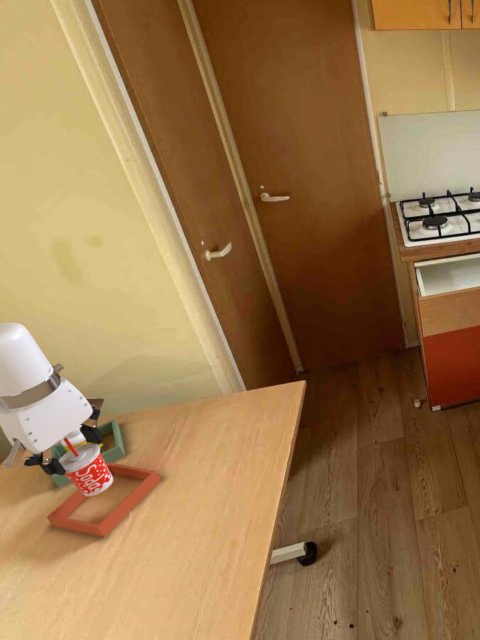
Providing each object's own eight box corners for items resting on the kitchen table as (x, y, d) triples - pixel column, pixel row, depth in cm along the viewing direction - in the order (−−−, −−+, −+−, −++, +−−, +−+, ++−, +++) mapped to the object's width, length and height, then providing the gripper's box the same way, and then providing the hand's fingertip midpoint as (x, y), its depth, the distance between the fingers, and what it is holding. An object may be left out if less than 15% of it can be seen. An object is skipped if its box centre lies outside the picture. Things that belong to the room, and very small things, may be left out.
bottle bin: (58, 456, 98) (50, 446, 97) (120, 429, 105) (114, 418, 104) (60, 489, 91) (51, 478, 90) (126, 457, 98) (119, 446, 97)
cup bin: (55, 527, 84) (46, 517, 82) (115, 472, 95) (108, 462, 93) (106, 539, 82) (97, 528, 81) (162, 481, 93) (155, 471, 91)
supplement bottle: (102, 460, 97) (82, 430, 92) (71, 469, 95) (49, 439, 90) (109, 442, 101) (90, 413, 97) (80, 450, 99) (59, 421, 95)
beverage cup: (74, 505, 82) (37, 458, 76) (83, 480, 87) (48, 433, 80) (114, 490, 85) (81, 443, 78) (121, 467, 89) (90, 420, 83)
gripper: (65, 353, 81) (107, 419, 90) (-55, 425, 66) (8, 496, 75) (98, 358, 80) (136, 424, 89) (-17, 432, 65) (42, 503, 74)
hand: (77, 456), depth 82 cm, fingers closed on beverage cup, 6 cm apart
